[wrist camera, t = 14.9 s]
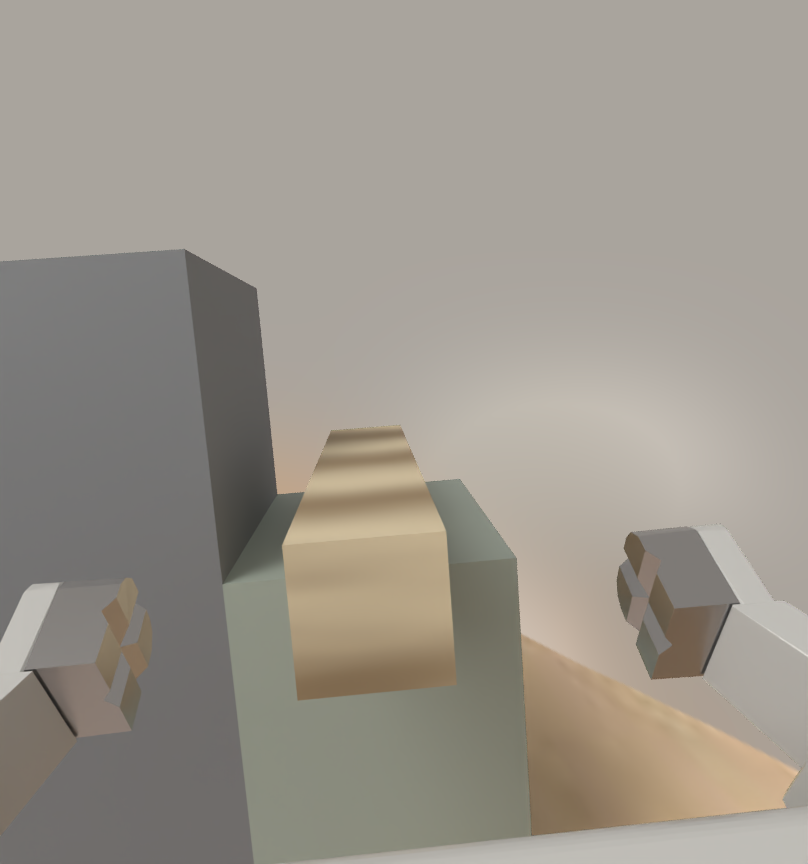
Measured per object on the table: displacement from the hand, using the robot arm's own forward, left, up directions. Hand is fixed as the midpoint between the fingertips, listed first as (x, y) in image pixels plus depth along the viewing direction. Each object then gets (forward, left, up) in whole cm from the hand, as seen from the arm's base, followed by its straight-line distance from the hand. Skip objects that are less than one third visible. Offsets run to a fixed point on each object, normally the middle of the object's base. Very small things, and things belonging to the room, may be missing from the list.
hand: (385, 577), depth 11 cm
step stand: (-17, +9, -19) cm, 27 cm away
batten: (-10, +9, -4) cm, 14 cm away
